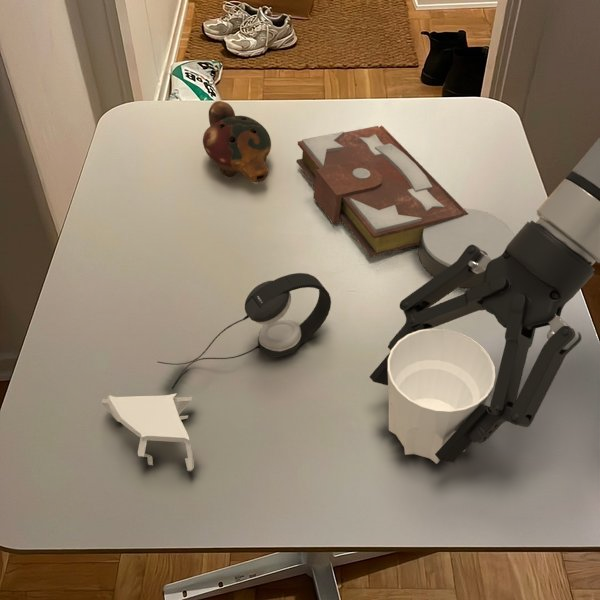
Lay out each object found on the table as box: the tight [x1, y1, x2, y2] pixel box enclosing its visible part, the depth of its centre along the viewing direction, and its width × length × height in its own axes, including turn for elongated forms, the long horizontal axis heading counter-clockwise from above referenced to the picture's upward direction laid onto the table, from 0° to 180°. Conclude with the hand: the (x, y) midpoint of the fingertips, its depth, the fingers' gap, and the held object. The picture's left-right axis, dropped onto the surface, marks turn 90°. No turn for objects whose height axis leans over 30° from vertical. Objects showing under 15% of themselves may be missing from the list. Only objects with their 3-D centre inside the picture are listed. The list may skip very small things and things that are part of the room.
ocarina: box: [202, 100, 272, 184], centre depth 107 cm, size 10×15×8 cm, turn 34°
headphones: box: [157, 272, 332, 389], centre depth 81 cm, size 10×4×20 cm
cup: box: [387, 327, 496, 465], centre depth 73 cm, size 10×10×10 cm
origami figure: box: [101, 393, 195, 472], centre depth 75 cm, size 12×8×5 cm
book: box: [296, 125, 468, 258], centre depth 102 cm, size 23×16×5 cm
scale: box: [418, 208, 516, 289], centre depth 94 cm, size 13×12×3 cm
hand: (409, 418), depth 73 cm, fingers closed on cup, 10 cm apart
